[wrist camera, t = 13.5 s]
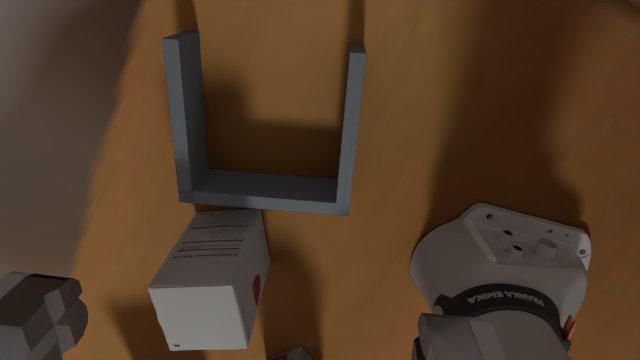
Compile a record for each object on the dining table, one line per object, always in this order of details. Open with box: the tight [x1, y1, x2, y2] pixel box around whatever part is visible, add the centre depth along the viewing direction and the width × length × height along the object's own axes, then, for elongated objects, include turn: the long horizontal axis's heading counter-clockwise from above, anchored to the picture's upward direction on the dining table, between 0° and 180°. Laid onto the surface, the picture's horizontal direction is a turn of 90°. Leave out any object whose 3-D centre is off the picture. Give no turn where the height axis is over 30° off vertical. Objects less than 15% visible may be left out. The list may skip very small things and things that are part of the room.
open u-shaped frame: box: [162, 31, 366, 216], centre depth 44 cm, size 19×18×6 cm
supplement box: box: [148, 208, 270, 351], centre depth 48 cm, size 9×9×15 cm
